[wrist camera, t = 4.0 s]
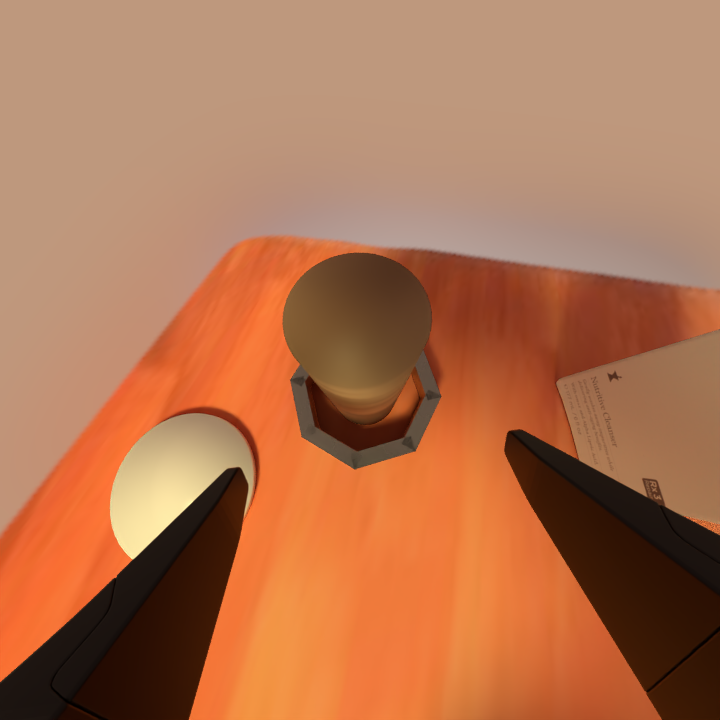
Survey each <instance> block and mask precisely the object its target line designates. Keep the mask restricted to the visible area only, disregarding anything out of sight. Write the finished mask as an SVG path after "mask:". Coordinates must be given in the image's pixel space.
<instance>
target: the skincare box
mask: <svg viewBox="0 0 720 720" xmlns="http://www.w3.org/2000/svg"><path fill="white" fill-rule="evenodd" d="M556 385H557V388H558V390H559V394H560V395H561V398H562V401H563V404H564V407H565V410H566V414H567V417H568V420H569V424H570V427H571V431H572V435H573V438H574V442H575V446H576V450H577V454H578V458H579V461H581V462H583V463H585V464H587V465H589V466H590V467H592V468H594V469H596V470H598V471H600V472H602V473H603V474H605V475H607V476H609V477H611V478H613V479H615V480H616V481H618V482H620V483H622V484H624V485H626V486H628V487H629V488H631V489H633V490H635V491H637V492H639V493H641V494H643V495H644V496H646V497H648V498H650V499H652V500H654V501H656V502H657V503H658V504H659V505H663V506H665V507H667V508H669V509H671V510H672V511H674V512H676V513H678V514H680V515H682V516H687V517H691V518H695V519H699V520H704V521H708V522H712V523H716V524H720V329H719V330H716V331H713V332H709V333H706V334H703V335H700V336H696V337H693V338H690V339H687V340H683V341H680V342H677V343H674V344H670V345H667V346H664V347H661V348H658V349H654V350H651V351H648V352H645V353H641V354H638V355H635V356H631V357H628V358H625V359H621V360H618V361H615V362H611V363H608V364H605V365H602V366H598V367H595V368H592V369H588V370H585V371H582V372H579V373H576V374H573V375H569V376H566V377H563V378H560V379H558V381H557V382H556Z"/></svg>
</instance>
